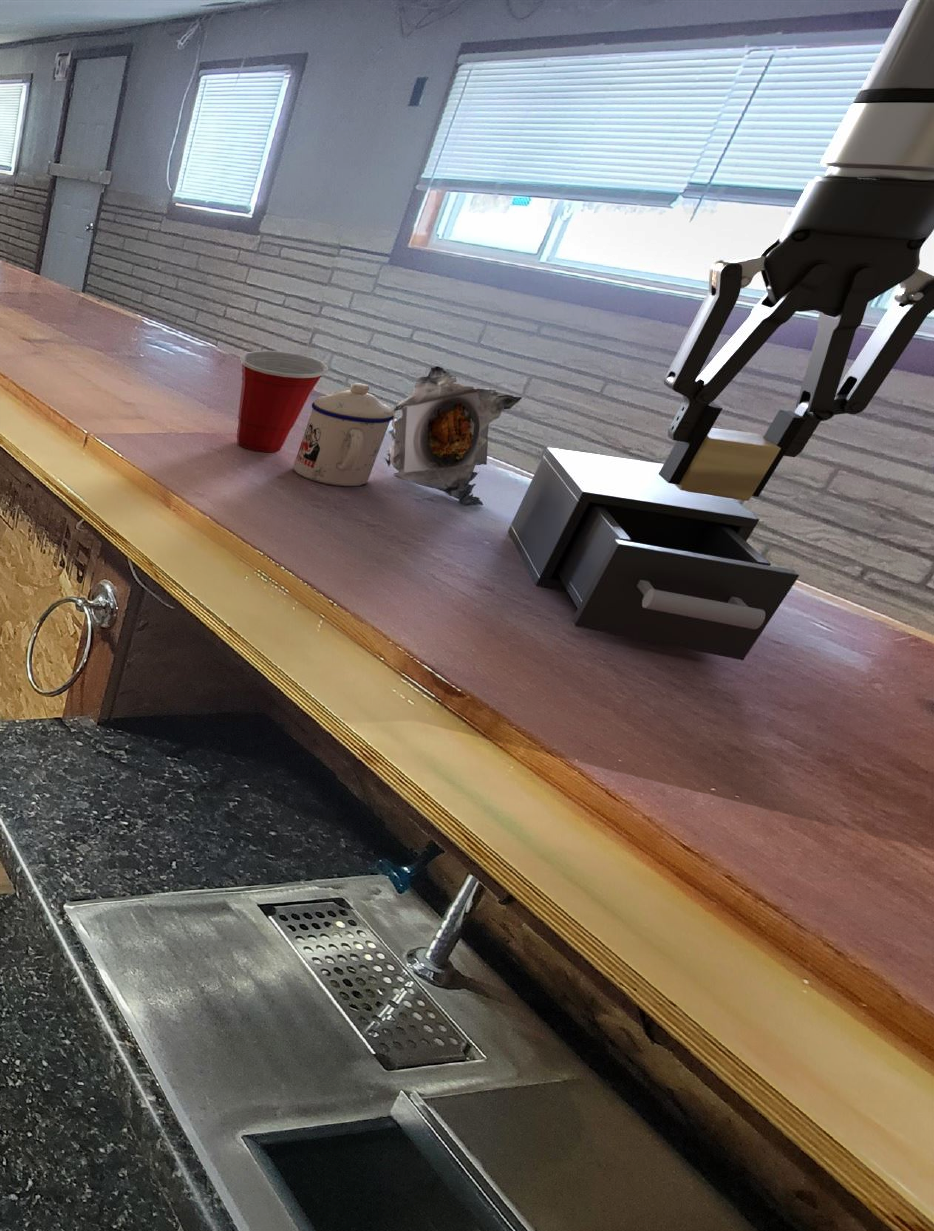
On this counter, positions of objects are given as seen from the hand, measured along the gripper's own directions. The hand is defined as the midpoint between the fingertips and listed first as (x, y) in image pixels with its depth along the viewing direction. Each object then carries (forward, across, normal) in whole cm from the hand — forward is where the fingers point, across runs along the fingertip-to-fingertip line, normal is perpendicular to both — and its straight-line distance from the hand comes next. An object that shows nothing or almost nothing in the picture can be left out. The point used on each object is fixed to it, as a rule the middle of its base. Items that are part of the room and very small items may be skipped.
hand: (707, 484), depth 76 cm
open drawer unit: (+12, 0, +1) cm, 12 cm away
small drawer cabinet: (+13, 0, -12) cm, 18 cm away
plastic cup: (+13, +33, -40) cm, 53 cm away
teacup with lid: (+13, +24, -30) cm, 40 cm away
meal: (+13, +13, -34) cm, 39 cm away
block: (0, 0, 0) cm, 0 cm away
